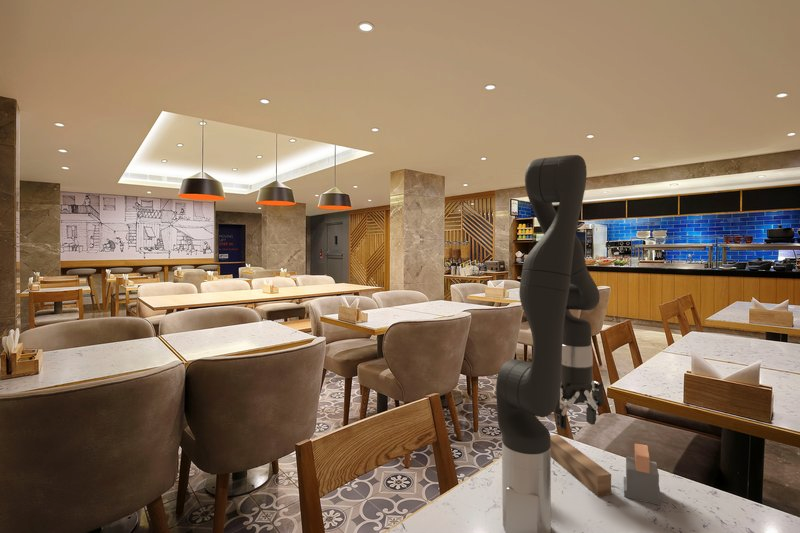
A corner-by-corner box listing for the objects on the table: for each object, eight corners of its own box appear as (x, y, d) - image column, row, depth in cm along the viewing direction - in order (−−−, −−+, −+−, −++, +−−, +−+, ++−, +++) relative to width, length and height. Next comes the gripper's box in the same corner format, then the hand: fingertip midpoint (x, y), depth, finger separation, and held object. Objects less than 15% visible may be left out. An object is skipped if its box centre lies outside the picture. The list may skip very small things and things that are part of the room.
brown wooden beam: (611, 495, 90) (611, 474, 90) (597, 498, 89) (597, 476, 89) (557, 452, 109) (557, 434, 109) (546, 454, 109) (546, 436, 108)
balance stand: (661, 505, 86) (661, 460, 85) (624, 496, 89) (624, 452, 89) (658, 490, 91) (658, 447, 91) (623, 482, 94) (623, 441, 94)
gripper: (561, 369, 92) (562, 437, 93) (611, 362, 96) (611, 428, 97) (541, 360, 100) (542, 424, 100) (588, 354, 104) (589, 415, 104)
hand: (576, 426), depth 99 cm, fingers open, 8 cm apart
